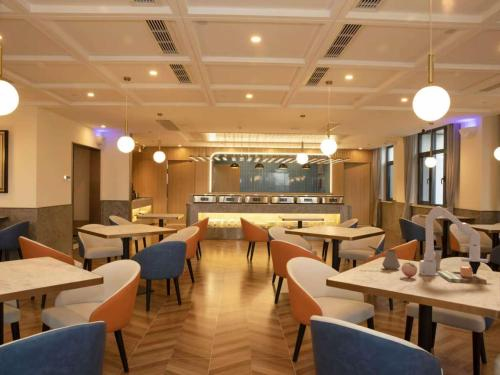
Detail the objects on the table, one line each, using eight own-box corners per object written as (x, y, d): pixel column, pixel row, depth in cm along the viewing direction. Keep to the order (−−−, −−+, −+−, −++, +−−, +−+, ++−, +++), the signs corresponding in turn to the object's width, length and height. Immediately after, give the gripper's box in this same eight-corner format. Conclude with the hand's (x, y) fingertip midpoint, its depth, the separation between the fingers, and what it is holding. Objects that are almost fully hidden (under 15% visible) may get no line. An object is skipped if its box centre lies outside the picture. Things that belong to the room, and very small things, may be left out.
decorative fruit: (420, 278, 242) (420, 262, 242) (411, 279, 238) (412, 263, 238) (407, 275, 250) (407, 259, 250) (398, 276, 246) (399, 260, 246)
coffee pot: (399, 268, 274) (400, 246, 274) (400, 271, 263) (400, 248, 264) (367, 265, 282) (368, 244, 282) (366, 268, 271) (367, 246, 271)
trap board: (449, 281, 234) (449, 278, 234) (437, 273, 257) (437, 270, 257) (486, 283, 231) (486, 280, 231) (471, 275, 254) (471, 272, 254)
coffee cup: (444, 269, 271) (444, 247, 271) (429, 269, 273) (429, 247, 273) (440, 267, 280) (440, 245, 280) (426, 266, 282) (426, 245, 282)
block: (463, 276, 241) (463, 267, 241) (460, 274, 246) (460, 266, 246) (472, 276, 241) (472, 268, 241) (468, 274, 246) (469, 266, 246)
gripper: (464, 252, 240) (464, 274, 240) (490, 253, 238) (490, 275, 238) (460, 250, 247) (459, 272, 247) (485, 251, 245) (485, 273, 245)
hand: (474, 274), depth 243 cm, fingers closed
